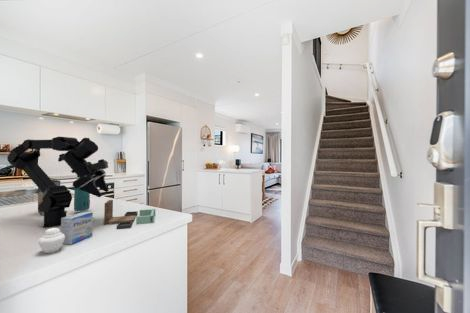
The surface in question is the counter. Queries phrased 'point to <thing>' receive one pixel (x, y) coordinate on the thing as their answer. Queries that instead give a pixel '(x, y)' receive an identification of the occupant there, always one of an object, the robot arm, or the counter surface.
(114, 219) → the bookend
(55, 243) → the white lidded jar
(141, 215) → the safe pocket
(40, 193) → the coffee box
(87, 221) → the medicine box
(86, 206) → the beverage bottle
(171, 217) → the counter surface
